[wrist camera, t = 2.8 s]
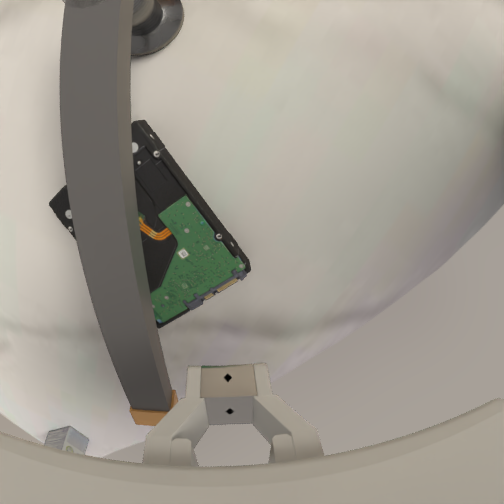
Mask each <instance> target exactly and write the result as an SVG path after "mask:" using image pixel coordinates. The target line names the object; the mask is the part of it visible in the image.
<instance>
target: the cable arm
mask: <svg viewBox="0 0 504 504" xmlns="http://www.w3.org/2000/svg"><path fill="white" fill-rule="evenodd" d="M63 2H64V3H65V9H64V18H63V27H62V39H61V56H60V117H61V134H62V147H63V158H64V167H65V175H66V183H67V190H68V197H69V203H70V209H71V215H72V220H73V225H74V230H75V235H76V240H77V245H78V249H79V254H80V258H81V262H82V266H83V270H84V274H85V278H86V282H87V285H88V289H89V293H90V296H91V300H92V303H93V306H94V310H95V313H96V316H97V319H98V322H99V325H100V328H101V331H102V334H103V337H104V340H105V343H106V346H107V348H108V351H109V354H110V357H111V359H112V362H113V364H114V367H115V370H116V372H117V375H118V377H119V379H120V382H121V384H122V387H123V389H124V391H125V394H126V396H127V398H128V401H129V403H130V405H131V406H130V413H131V415H132V417H133V419H134V421H135V423H136V424H138V425H149V426H156V425H157V424H158V423H159V422H160V421H161V419H162V418H163V417H164V416H165V415H166V414H167V413H168V412H169V411H170V410H171V409H172V408H173V407H174V406H175V405H176V403H177V402H178V398H177V395H176V391H175V390H172V388H171V384H170V380H169V377H168V373H167V369H166V365H165V361H164V356H163V352H162V348H161V344H160V339H159V335H158V330H157V325H156V321H155V316H154V311H153V306H152V301H151V295H150V290H149V284H148V278H147V273H146V266H145V260H144V254H143V247H142V240H141V232H140V225H139V216H138V208H137V199H136V189H135V178H134V165H133V151H132V133H131V102H130V64H131V35H132V18H133V5H134V0H63Z"/></svg>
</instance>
